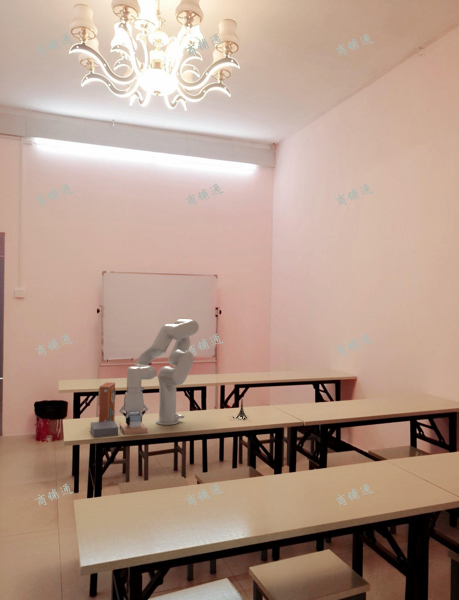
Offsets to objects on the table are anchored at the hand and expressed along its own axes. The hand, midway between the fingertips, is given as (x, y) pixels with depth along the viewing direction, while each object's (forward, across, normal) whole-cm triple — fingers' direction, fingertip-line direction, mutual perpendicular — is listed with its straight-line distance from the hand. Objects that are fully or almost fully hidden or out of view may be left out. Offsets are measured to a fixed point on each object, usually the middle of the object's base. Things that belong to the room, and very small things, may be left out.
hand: (133, 423), depth 247 cm
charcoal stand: (+3, +15, 0) cm, 16 cm away
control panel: (+3, +11, -20) cm, 23 cm away
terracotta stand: (+3, 0, 0) cm, 3 cm away
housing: (+1, 0, 0) cm, 1 cm away
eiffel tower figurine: (+5, -65, -4) cm, 65 cm away
